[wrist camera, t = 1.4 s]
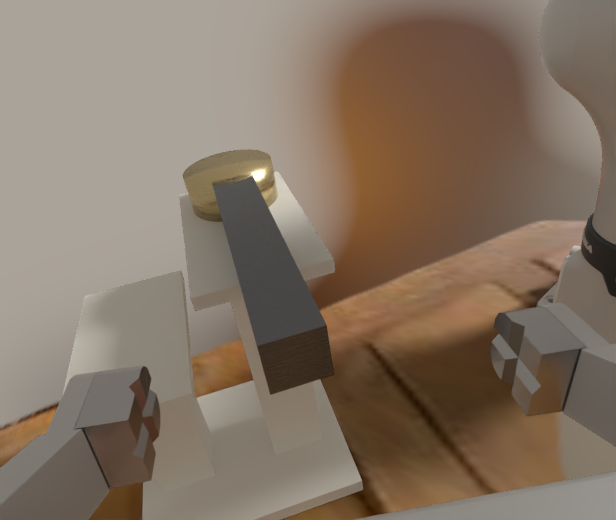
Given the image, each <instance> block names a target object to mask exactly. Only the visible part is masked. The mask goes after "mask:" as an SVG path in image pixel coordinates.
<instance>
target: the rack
mask: <svg viewBox="0 0 616 520" xmlns="http://www.w3.org/2000/svg"><path fill="white" fill-rule="evenodd" d="M274 177H275V182H276V187H277V192H278V196H277V199H276V200H275V202H274V203H273V204H272V205H271V206H270V207H268V208H269V210H270V212H271V214H272V216H273V218H274V220H275V222H276V224H277V226H278V228H279V230H280V232H281V234H282V236H283V238H284V240H285V242H286V244H287V246H288V248H289V250H290V252H291V255H292V257H293V259H294V261H295V263H296V265H297V267H298V269H299V271H300V273H301V275H302V277H303V279H304V281H305V280H308V279H312V278H315V277H319V276H322V275H326V274H330V273H333V272H335V266H334V260H333V257H332V256H331V254H330V252H329V251H328V249H327V248H326V246H325V245H324V243H323V241H322V240H321V238H320V237H319V235H318V234H317V232H316V231H315V229H314V227H313V226H312V224H311V223H310V221H309V220H308V218H307V216H306V215H305V213H304V212H303V210H302V209H301V207H300V205H299V204H298V202H297V201H296V199H295V198H294V196H293V194H292V193H291V191H290V190H289V188H288V187H287V185H286V183H285V182H284V180H283V179H282V177H281V176H280V174H279V173H278V172H274ZM179 198H180V206H181V216H182V225H183V233H184V243H185V251H186V261H187V270H188V279H189V288H190V297H191V301H192V304H193V306H194V309H195V311H198V310H201V309H204V308H209V307H212V306H216V305H219V304H222V303H226V302H231V305H232V309H233V312H234V315H235V319H236V322H237V326H238V329H239V332H240V336H241V339H242V343H243V346H244V350H245V353H246V356H247V360H248V363H249V367H250V370H251V373H252V377H253V380H252V381H249V382H246V383H242V384H239V385H236V386H233V387H230V388H226V389H223V390H220V391H217V392H213V393H210V394H207V395H204V396H201V397H197V398H196V396H195V390H194V379H193V369H192V358H191V349H190V338H189V328H188V317H187V306H186V295H185V285H184V278H183V275H182V272H181V271H177V272H173V273H169V274H166V275H162V276H158V277H154V278H151V279H147V280H143V281H139V282H136V283H132V284H128V285H124V286H120V287H117V288H113V289H109V290H105V291H102V292H98V293H94V294H90V295H87V296H85V297H84V301H83V306H82V310H81V315H80V319H79V324H78V328H77V333H76V337H75V342H74V346H73V350H72V355H71V360H70V364H69V368H68V373H67V377H66V382H65V386H64V391H63V394H64V392H65V389H66V387H67V385H68V382H69V380H70V379H71V378H72V377H73V376H74V375H77V374H85V373H93V372H99V371H106V370H113V369H121V368H129V367H137V366H145V367H147V368H148V371H149V374H150V376H151V383H150V388H149V389H150V390H152V391H153V392H154V393H156V395H157V398H158V401H159V407H160V432H159V437H158V438H157V439H156V440H155V441H154V442H153V446H154V449H155V452H156V456H155V462H154V467H153V473H152V479H151V481H147V482H143V509H142V520H281V519H284V518H287V517H289V516H292V515H295V514H298V513H301V512H303V511H306V510H309V509H312V508H314V507H317V506H320V505H323V504H325V503H328V502H331V501H334V500H336V499H339V498H342V497H345V496H348V495H350V494H353V493H356V492H359V491H361V490H363V484H362V479H361V477H360V475H359V472H358V470H357V467H356V465H355V462H354V460H353V458H352V455H351V453H350V450H349V448H348V445H347V443H346V441H345V438H344V436H343V433H342V431H341V428H340V426H339V424H338V421H337V419H336V416H335V414H334V411H333V409H332V407H331V404H330V402H329V399H328V397H327V394H326V392H325V390H324V387H323V385H322V382H321V380H320V379H319V380H316V381H313V382H310V383H307V384H303V385H300V386H297V387H294V388H291V389H288V390H284V391H281V392H278V393H275V394H272V395H270V392H269V389H268V385H267V381H266V378H265V374H264V370H263V367H262V363H261V360H260V356H259V352H258V349H257V345H256V342H255V338H254V334H253V331H252V327H251V323H250V320H249V316H248V313H247V309H246V305H245V302H244V298H243V294H242V291H241V287H240V284H239V280H238V276H237V273H236V269H235V265H234V262H233V258H232V255H231V251H230V247H229V244H228V240H227V236H226V233H225V229H224V226H223V222H213V221H207V220H203V219H201V218H199V217H197V216H196V215H195V213H194V211H193V208H192V204H191V201H190V198H189V195H188V193H185V194H181V195H179ZM62 396H63V395H62Z"/></svg>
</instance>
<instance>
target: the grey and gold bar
mask: <svg viewBox="0 0 616 520" xmlns="http://www.w3.org/2000/svg"><path fill="white" fill-rule="evenodd" d="M183 178H184V181H185V185H186V188H187V191H188V195H189V198H190V201H191V204H192V208H193V211H194V213H195V215H196V216H197V217H199V218H201V219H203V220H207V221H213V222H223V226H224V229H225V233H226V236H227V240H228V244H229V247H230V251H231V255H232V258H233V262H234V265H235V269H236V273H237V276H238V280H239V284H240V287H241V291H242V294H243V298H244V302H245V305H246V309H247V313H248V316H249V320H250V323H251V327H252V331H253V334H254V338H255V342H256V345H257V349H258V352H259V356H260V360H261V363H262V367H263V370H264V374H265V378H266V381H267V385H268V389H269V392H270V395H272V394H275V393H278V392H281V391H284V390H288V389H291V388H294V387H297V386H300V385H303V384H307V383H310V382H313V381H316V380H319V379H322V378H325V377H329V376H332V375H334V371H333V365H332V358H331V352H330V345H329V338H328V332H327V325H326V323H325V321H324V319H323V317H322V315H321V313H320V311H319V309H318V307H317V305H316V303H315V301H314V299H313V297H312V295H311V293H310V291H309V289H308V287H307V285H306V283H305V281H304V279H303V277H302V275H301V273H300V271H299V269H298V267H297V265H296V263H295V261H294V259H293V257H292V255H291V252H290V250H289V248H288V246H287V244H286V242H285V240H284V238H283V236H282V234H281V232H280V230H279V228H278V226H277V224H276V222H275V220H274V218H273V216H272V214H271V212H270V210H269V208H268V207H270V206H271V205H272V204H273V203H274V202H275V200H276V199H277V196H278V192H277V187H276V182H275V177H274V172H273V166H272V161H271V157H270V156H269V155H268V154H267V153H265V152H262V151H258V150H235V151H229V152H223V153H219V154H215V155H212V156H209V157H206V158H204V159H202V160H199V161H197V162H195V163H194V164H192V165H191V166H189V167H188V168H187V169H186V170H185V172H184V174H183Z"/></svg>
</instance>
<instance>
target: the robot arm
mask: <svg viewBox="0 0 616 520" xmlns="http://www.w3.org/2000/svg"><path fill="white" fill-rule="evenodd" d="M539 49H540V56H541V59H542V62H543V65H544V67H545V69H546V71H547V72H548V74H549V76H550V77H551V78H552V79H553V81H554V82H555V83H556V84H557V85H559V86H560V87H561V88H562V89H564V90H566V91H567V92H569V93H570V94H571V95H572V96H573V97H575V98H576V99H577V100H578V101H579V102H580V103H581V104H582V106H584V108H585V109H586V110H587V112H588V113H589V115H590V116H591V118H592V120H593V122H594V124H595V126H596V128H597V131H598V133H599V136H600V141H601V147H602V167H601V175H600V183H599V189H598V195H597V201H596V206H595V210H594V213H593V214H592V215H591V216H590V217H589V218H588V221H587V225H586V226H585V228H584V232H583V236H582V245H581V247H580V246H573V248H572V249H571V251H570V254H569V255H567V256H566V257H565V259H564V262H563V264H562V267H561V271H560V275H559V279H558V282H557V283H556V284H555V285H554V286H553V287H552V288H551V289H550V290H549V291H548V292H547V293H546V294H545V295H544V296H543V297H542V298H541V299H540V300H539V301H538V303H537V307H533V308H527V309H521V310H514V311H508V312H501V313H498V315H497V317H496V318H495V324H494V328H495V329H496V330H497V331H498V333H499V334H498V335H497V336H496V337H495V338H494V340H493V341H492V342H491V351H490V354H491V360H492V365H493V367H494V369H495V371H496V373H497V375H498V376H499V378H500V379H501V380H502V381H503V382H505V383H507V384H509V385H511V386H513V388H512V394H511V395H512V396H513V397H514V399H515V400H516V402H517V403H518V404H519V406H520V407H521V408H522V410H523V411H524V413H525V414H526V415H527V416H534V415H541V414H548V413H555V412H562V411H564V412H563V413H564V414H565V415H567V416H569V417H570V418H572V419H573V420H575V421H576V422H578V423H580V424H581V425H583V426H584V427H586V428H587V429H589V430H590V431H592V432H594V433H595V434H597V435H598V436H600V437H602V438H603V439H605V440H606V441H608V442H609V443H611V444H612V445H614V446H616V0H549V2H548V4H547V6H546V9H545V11H544V14H543V17H542V21H541V25H540V30H539ZM150 383H151V376H150V374H149V371H148V368H147V367H145V366H137V367H129V368H121V369H113V370H106V371H99V372H93V373H85V374H77V375H74V376H73V377H72V378H71V379H70V380H69V382H68V385H67V387H66V389H65V392H64V394H63V396H62V399H61V401H60V403H59V405H58V408H57V410H56V412H55V415H54V417H53V419H52V421H51V424H50V426H49V428H48V431H47V433H46V434H45V435H39V436H37V437H36V438H35V439H34V440H33V441H31V442H30V443H29V444H28V445H27V446H26V447H24V448H23V449H22V450H21V451H20V452H19V453H17V454H16V455H15V456H14V457H13V458H11V459H10V460H9V461H8V462H7V463H6V464H4V465H3V466H2V467H1V468H0V520H89V519H90V517H91V516H92V515H93V513H94V512H95V511H96V509H97V508H98V507H99V505H100V504H101V503H102V501H103V500H104V499H105V497H106V496H107V495H108V493H109V492H110V490H109V489H112V488H117V487H122V486H127V485H132V484H137V483H142V482H147V481H151V479H152V473H153V467H154V462H155V456H156V452H155V449H154V446H153V442H154V441H155V440H156V439H157V438H158V437H159V432H160V407H159V401H158V398H157V395H156V393H154V392H153V391H152V390H150V389H149V388H150ZM354 520H616V471H613V472H607V473H602V474H596V475H591V476H585V477H580V478H575V479H569V480H564V481H558V482H553V483H548V484H542V485H537V486H532V487H526V488H521V489H515V490H510V491H505V492H499V493H494V494H489V495H483V496H478V497H472V498H467V499H462V500H456V501H451V502H446V503H440V504H435V505H429V506H424V507H418V508H413V509H408V510H402V511H397V512H391V513H386V514H381V515H375V516H370V517H364V518H359V519H354Z"/></svg>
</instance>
